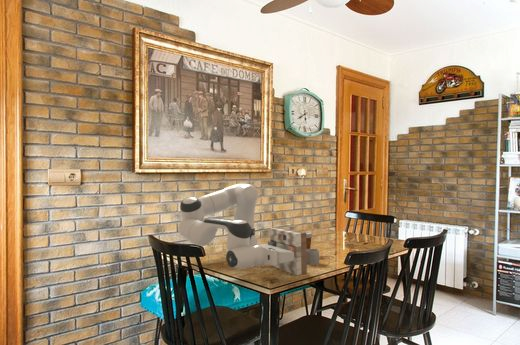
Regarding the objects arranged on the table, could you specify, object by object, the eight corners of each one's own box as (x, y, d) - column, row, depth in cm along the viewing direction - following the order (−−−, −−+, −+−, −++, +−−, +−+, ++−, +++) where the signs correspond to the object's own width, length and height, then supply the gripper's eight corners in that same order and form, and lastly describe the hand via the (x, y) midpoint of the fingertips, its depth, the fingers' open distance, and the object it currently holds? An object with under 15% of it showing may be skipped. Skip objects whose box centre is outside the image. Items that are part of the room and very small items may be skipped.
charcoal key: (268, 249, 189) (267, 241, 189) (273, 249, 191) (273, 240, 191) (272, 251, 186) (272, 242, 186) (277, 250, 187) (277, 241, 187)
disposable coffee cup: (305, 257, 208) (305, 234, 208) (291, 255, 214) (291, 233, 214) (316, 254, 215) (315, 232, 215) (301, 252, 221) (301, 231, 221)
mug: (315, 261, 198) (315, 248, 198) (321, 264, 192) (321, 250, 192) (297, 263, 195) (297, 249, 195) (303, 266, 189) (302, 252, 189)
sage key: (276, 252, 183) (276, 243, 183) (281, 251, 184) (281, 243, 184) (281, 253, 179) (281, 245, 179) (286, 253, 181) (286, 244, 181)
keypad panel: (269, 265, 191) (269, 228, 191) (279, 263, 194) (279, 227, 194) (296, 275, 172) (295, 233, 172) (306, 273, 175) (306, 232, 175)
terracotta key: (288, 254, 177) (287, 245, 177) (293, 254, 178) (293, 245, 178) (293, 256, 173) (293, 247, 173) (298, 255, 175) (298, 246, 175)
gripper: (252, 257, 177) (277, 254, 184) (276, 266, 159) (304, 262, 166) (251, 243, 177) (277, 240, 184) (276, 251, 159) (304, 247, 166)
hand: (290, 251), depth 175 cm, fingers closed, pressing on terracotta key
